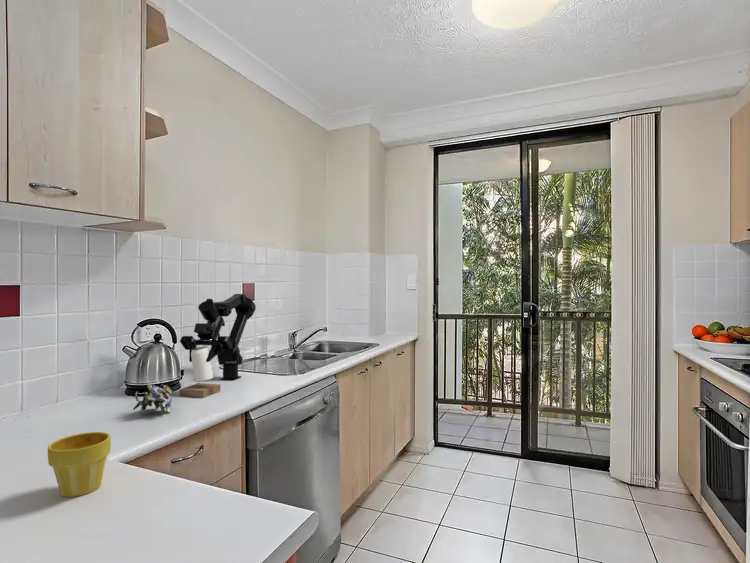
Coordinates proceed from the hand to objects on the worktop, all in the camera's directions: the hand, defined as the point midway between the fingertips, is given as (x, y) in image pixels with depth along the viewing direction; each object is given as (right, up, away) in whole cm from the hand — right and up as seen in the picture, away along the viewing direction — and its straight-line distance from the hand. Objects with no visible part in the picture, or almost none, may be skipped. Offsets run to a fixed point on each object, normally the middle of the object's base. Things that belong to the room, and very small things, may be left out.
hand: (198, 361), depth 159 cm
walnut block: (0, -13, +1) cm, 13 cm away
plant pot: (+7, -12, -73) cm, 74 cm away
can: (+2, -7, +1) cm, 8 cm away
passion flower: (-5, -12, -23) cm, 27 cm away
